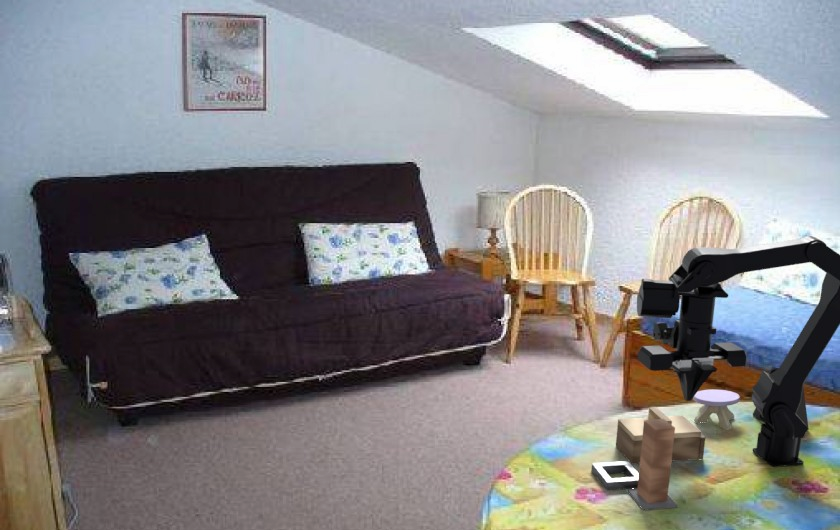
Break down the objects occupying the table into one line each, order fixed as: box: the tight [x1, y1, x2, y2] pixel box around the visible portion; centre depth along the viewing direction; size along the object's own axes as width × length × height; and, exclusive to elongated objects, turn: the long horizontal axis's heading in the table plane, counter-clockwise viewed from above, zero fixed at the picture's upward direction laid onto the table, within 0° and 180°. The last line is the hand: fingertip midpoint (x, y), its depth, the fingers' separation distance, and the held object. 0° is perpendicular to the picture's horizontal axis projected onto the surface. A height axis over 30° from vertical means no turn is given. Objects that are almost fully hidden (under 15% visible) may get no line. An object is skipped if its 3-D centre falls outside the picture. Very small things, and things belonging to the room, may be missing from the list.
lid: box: [617, 406, 702, 441], centre depth 144 cm, size 13×7×3 cm, turn 100°
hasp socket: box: [591, 460, 639, 491], centre depth 135 cm, size 7×7×2 cm
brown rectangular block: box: [637, 419, 675, 503], centre depth 128 cm, size 4×4×13 cm
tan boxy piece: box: [615, 424, 706, 465], centre depth 145 cm, size 14×7×4 cm, turn 100°
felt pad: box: [626, 488, 679, 511], centre depth 129 cm, size 6×6×1 cm
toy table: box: [692, 389, 740, 431], centre depth 159 cm, size 10×9×6 cm
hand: (687, 400), depth 144 cm, fingers closed
